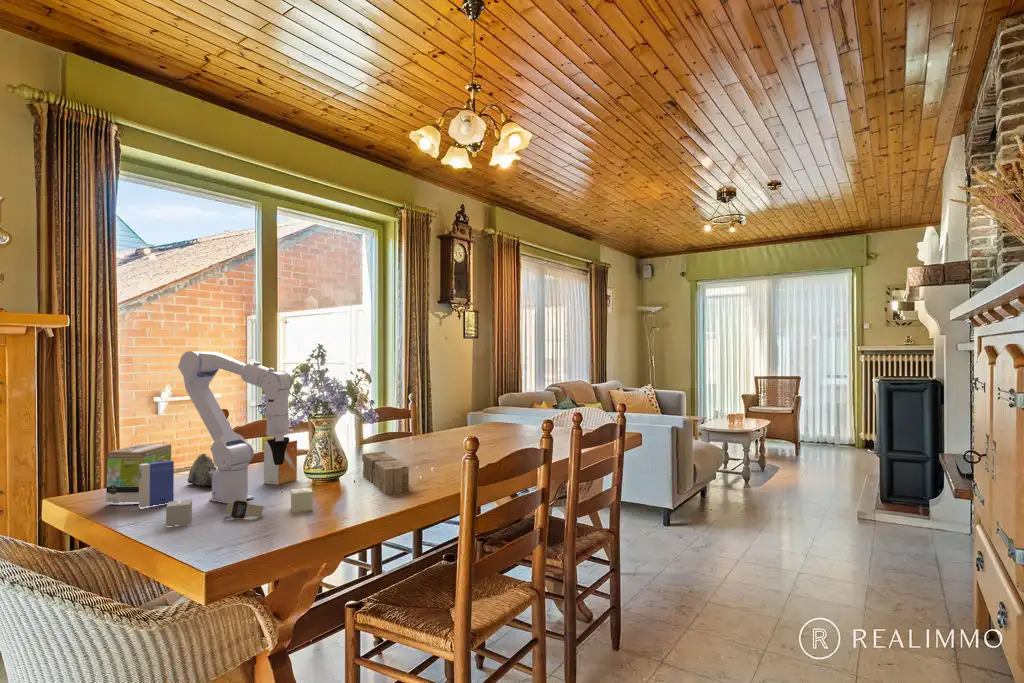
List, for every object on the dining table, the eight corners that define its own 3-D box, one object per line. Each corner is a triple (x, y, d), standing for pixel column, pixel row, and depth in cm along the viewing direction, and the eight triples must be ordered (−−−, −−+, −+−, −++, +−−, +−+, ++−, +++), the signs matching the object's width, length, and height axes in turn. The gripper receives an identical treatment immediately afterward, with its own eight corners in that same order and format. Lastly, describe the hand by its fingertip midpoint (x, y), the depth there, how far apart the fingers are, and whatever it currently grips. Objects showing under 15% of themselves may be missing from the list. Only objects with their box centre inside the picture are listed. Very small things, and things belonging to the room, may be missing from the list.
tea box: (143, 505, 156) (143, 451, 157) (104, 506, 156) (105, 451, 156) (171, 492, 171) (172, 442, 172) (136, 493, 170) (136, 443, 171)
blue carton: (169, 502, 160) (170, 458, 160) (173, 503, 158) (173, 459, 158) (137, 507, 154) (137, 463, 154) (140, 509, 152) (141, 464, 152)
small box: (278, 485, 180) (278, 443, 180) (263, 483, 182) (263, 442, 182) (297, 480, 187) (297, 439, 187) (282, 478, 189) (282, 438, 190)
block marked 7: (290, 508, 152) (290, 488, 153) (310, 506, 155) (310, 486, 155) (292, 513, 148) (292, 492, 148) (312, 510, 150) (312, 490, 150)
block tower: (410, 495, 170) (385, 474, 196) (410, 467, 170) (385, 449, 196) (383, 498, 167) (361, 476, 193) (384, 469, 167) (362, 451, 193)
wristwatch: (220, 520, 142) (220, 500, 142) (233, 513, 148) (233, 493, 149) (256, 520, 142) (256, 500, 142) (268, 513, 148) (268, 494, 148)
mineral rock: (219, 489, 175) (219, 456, 175) (179, 492, 171) (179, 458, 172) (226, 480, 187) (226, 449, 187) (189, 483, 184) (189, 451, 184)
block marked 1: (168, 522, 140) (168, 501, 140) (191, 519, 142) (192, 498, 143) (166, 527, 136) (166, 505, 136) (190, 525, 138) (190, 503, 138)
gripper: (295, 416, 154) (296, 466, 154) (290, 412, 167) (292, 459, 167) (266, 418, 151) (267, 469, 151) (264, 414, 164) (265, 461, 164)
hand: (278, 464), depth 159 cm, fingers closed
